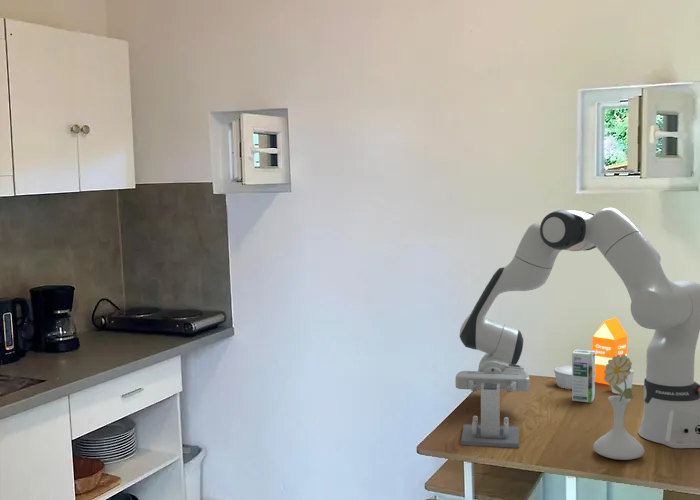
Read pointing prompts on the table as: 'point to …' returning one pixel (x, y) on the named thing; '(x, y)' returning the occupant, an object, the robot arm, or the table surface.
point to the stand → (506, 439)
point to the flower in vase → (618, 415)
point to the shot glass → (622, 385)
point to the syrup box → (583, 376)
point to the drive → (490, 410)
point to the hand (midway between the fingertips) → (491, 388)
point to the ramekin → (564, 376)
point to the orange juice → (608, 346)
